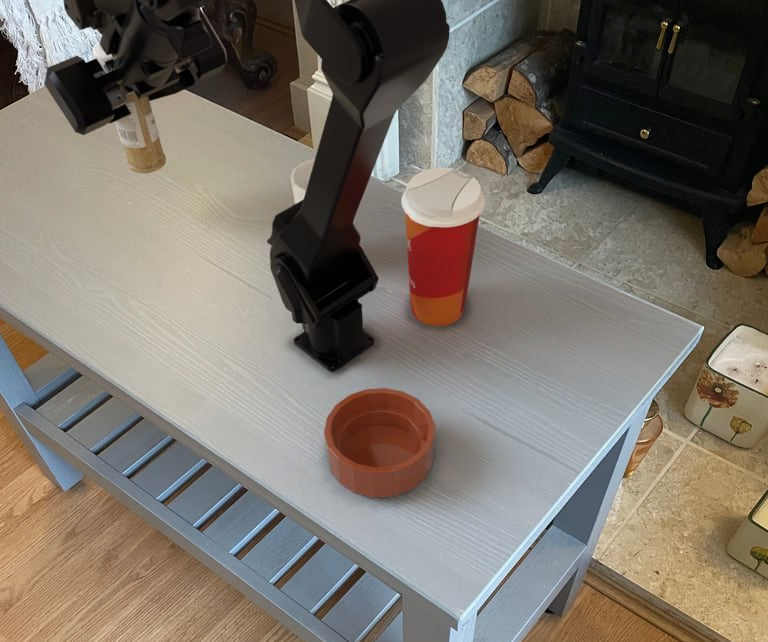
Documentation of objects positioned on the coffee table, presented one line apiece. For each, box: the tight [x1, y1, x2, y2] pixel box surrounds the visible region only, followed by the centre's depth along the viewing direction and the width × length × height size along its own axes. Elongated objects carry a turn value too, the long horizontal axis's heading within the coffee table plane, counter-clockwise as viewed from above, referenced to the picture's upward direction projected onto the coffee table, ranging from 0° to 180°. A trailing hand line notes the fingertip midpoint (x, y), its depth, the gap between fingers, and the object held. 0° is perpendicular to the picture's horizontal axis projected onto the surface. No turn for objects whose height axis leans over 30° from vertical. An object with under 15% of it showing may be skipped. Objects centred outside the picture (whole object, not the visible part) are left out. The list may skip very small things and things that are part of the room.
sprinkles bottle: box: [92, 41, 167, 174], centre depth 90 cm, size 5×5×14 cm
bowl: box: [323, 387, 436, 498], centre depth 77 cm, size 10×10×4 cm
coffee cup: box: [400, 167, 486, 327], centre depth 84 cm, size 8×8×15 cm
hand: (124, 105), depth 90 cm, fingers closed on sprinkles bottle, 4 cm apart
